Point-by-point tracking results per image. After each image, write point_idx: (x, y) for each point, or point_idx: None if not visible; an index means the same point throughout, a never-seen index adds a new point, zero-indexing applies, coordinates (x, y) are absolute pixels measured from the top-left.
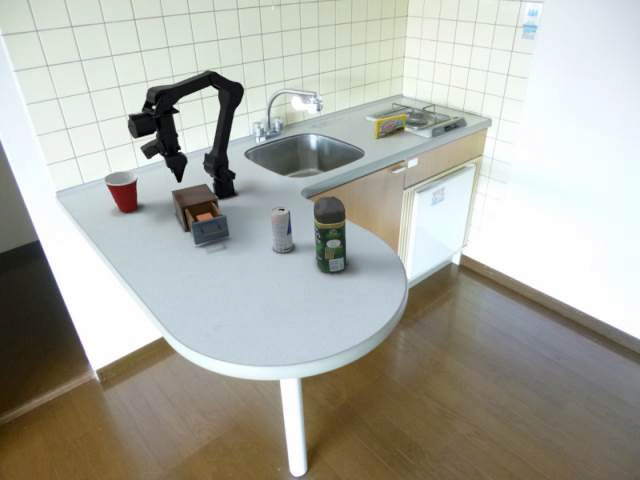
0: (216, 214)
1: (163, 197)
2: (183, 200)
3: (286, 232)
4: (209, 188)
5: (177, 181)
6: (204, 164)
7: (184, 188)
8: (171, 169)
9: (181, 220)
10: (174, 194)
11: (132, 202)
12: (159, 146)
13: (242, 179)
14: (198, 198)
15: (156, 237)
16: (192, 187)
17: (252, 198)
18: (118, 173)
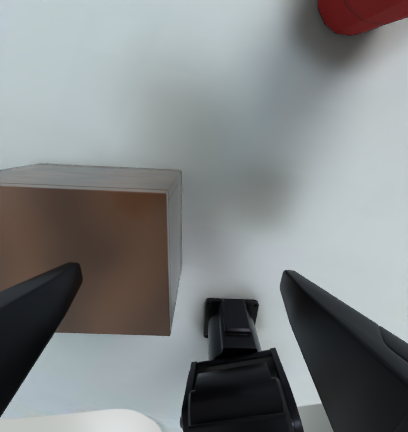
0: None
1: (347, 162)
2: (12, 218)
3: None
4: (109, 333)
5: (56, 268)
6: (266, 419)
7: (163, 257)
8: (295, 292)
9: (63, 168)
10: (109, 197)
11: None
12: None
13: (287, 366)
14: (16, 278)
15: (24, 51)
16: (155, 287)
17: (167, 352)
18: None
